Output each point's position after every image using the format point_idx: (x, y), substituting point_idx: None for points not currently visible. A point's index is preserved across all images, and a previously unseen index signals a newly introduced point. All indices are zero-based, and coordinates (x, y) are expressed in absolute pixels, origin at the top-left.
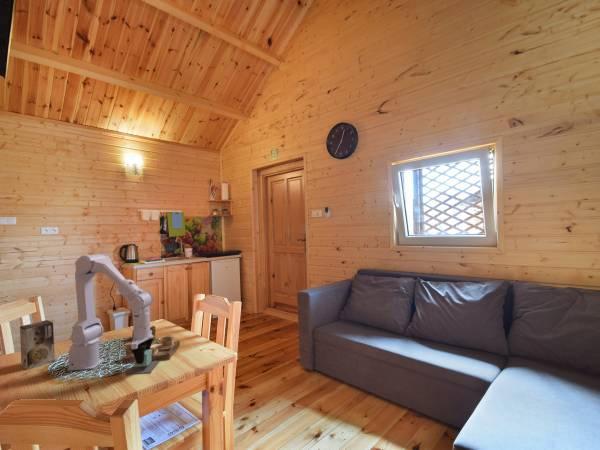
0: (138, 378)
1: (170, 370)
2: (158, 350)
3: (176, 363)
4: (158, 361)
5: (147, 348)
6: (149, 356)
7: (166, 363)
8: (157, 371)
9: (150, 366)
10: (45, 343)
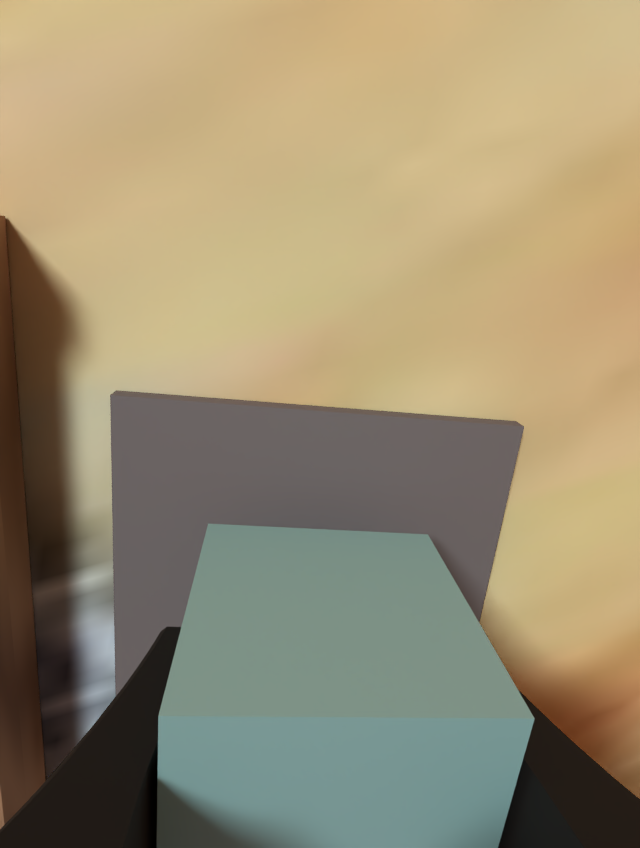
0: (616, 536)
1: (532, 82)
2: None
3: (233, 4)
4: (116, 408)
5: (137, 844)
6: (314, 607)
7: (191, 238)
8: (488, 326)
9: (309, 487)
10: None
